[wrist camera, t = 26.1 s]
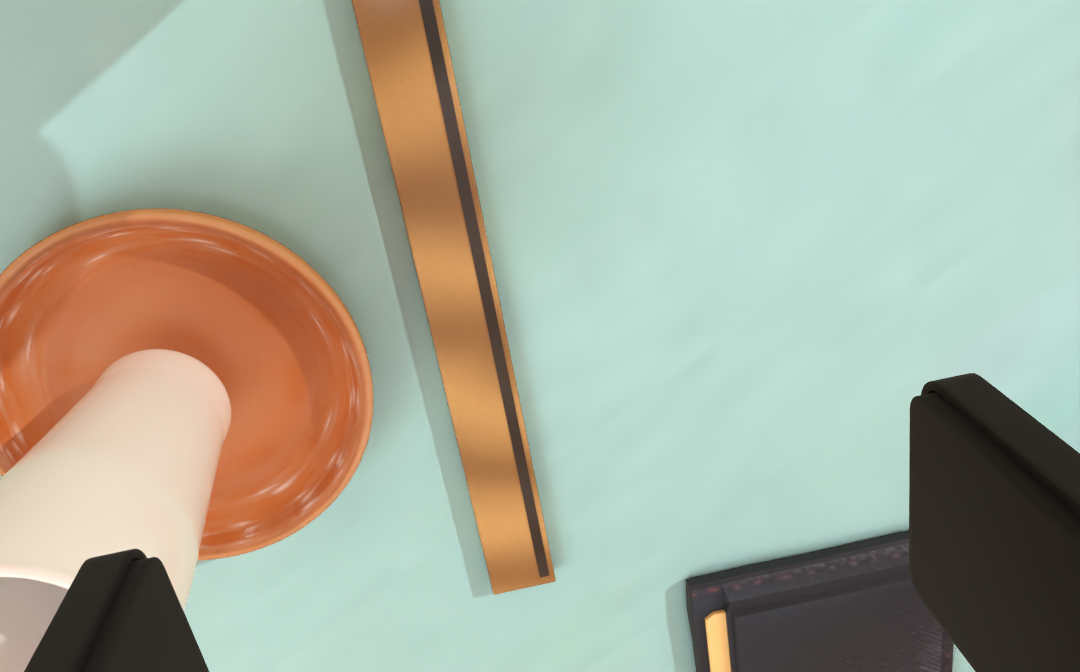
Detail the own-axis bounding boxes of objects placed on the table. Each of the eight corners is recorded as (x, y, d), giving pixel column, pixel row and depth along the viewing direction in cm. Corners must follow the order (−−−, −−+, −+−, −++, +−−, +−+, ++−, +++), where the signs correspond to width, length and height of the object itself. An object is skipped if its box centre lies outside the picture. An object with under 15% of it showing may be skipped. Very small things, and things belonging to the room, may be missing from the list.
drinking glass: (141, 498, 38) (-13, 804, 25) (42, 369, 36) (-192, 635, 22) (283, 433, 38) (206, 709, 24) (194, 298, 35) (51, 524, 22)
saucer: (341, 171, 37) (334, 190, 34) (401, 497, 44) (400, 534, 41) (-65, 220, 36) (-105, 243, 33) (60, 547, 42) (35, 589, 40)
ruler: (343, -42, 34) (341, -42, 33) (427, -58, 34) (427, -58, 33) (492, 584, 46) (493, 595, 46) (553, 571, 46) (556, 582, 46)
